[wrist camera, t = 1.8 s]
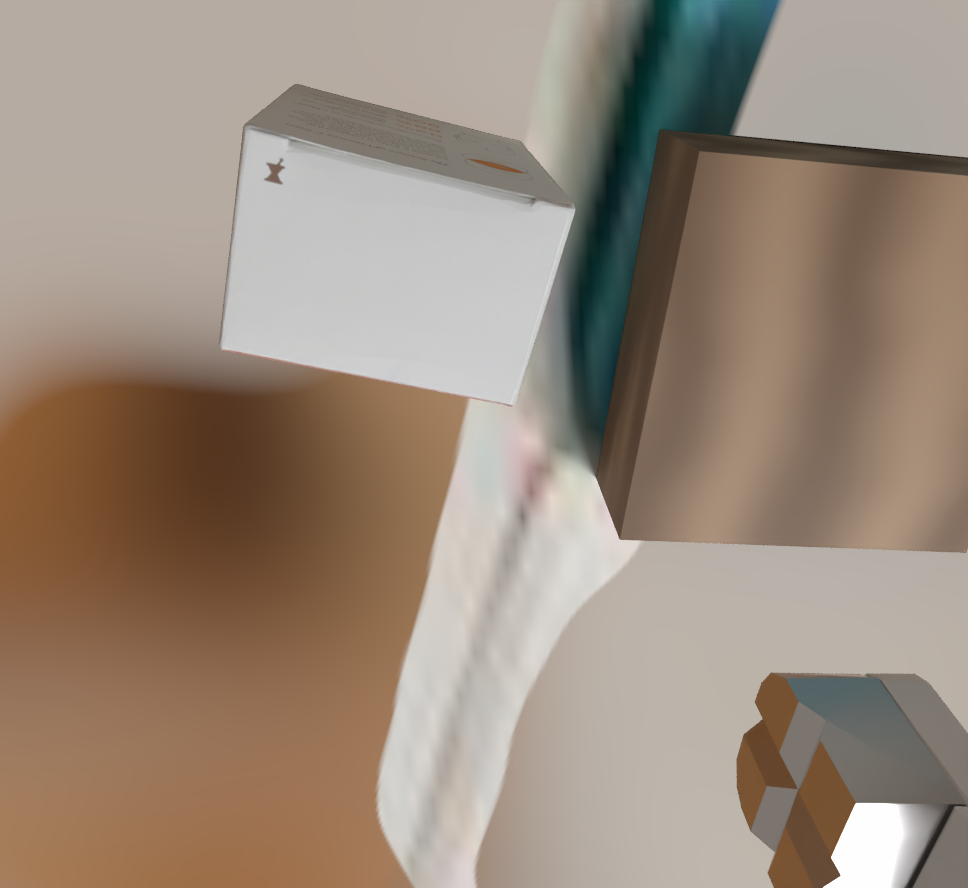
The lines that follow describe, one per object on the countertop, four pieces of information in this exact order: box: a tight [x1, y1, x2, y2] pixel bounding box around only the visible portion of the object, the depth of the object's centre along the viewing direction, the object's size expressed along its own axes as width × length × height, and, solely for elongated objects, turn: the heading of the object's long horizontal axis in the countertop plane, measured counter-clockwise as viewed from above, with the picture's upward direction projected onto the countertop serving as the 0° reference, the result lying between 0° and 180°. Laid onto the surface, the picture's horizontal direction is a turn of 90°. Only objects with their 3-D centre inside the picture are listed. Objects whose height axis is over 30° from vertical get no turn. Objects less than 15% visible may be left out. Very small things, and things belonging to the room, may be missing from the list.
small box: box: [219, 84, 575, 407], centre depth 25 cm, size 8×6×10 cm
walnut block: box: [596, 130, 968, 553], centre depth 31 cm, size 14×14×5 cm
